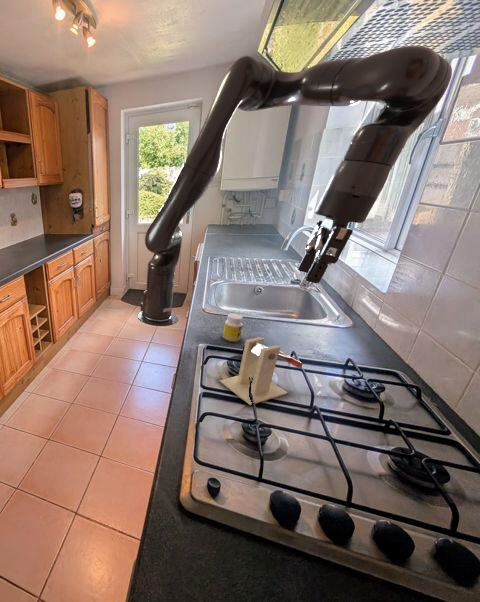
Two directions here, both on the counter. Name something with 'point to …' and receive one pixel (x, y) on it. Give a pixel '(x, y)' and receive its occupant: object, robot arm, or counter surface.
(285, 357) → the lever
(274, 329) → the counter surface
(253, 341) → the bracket
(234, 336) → the supplement bottle
